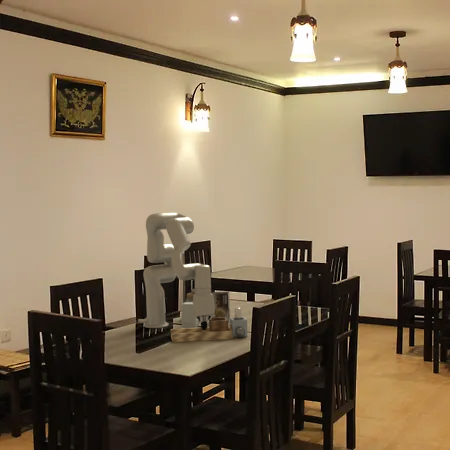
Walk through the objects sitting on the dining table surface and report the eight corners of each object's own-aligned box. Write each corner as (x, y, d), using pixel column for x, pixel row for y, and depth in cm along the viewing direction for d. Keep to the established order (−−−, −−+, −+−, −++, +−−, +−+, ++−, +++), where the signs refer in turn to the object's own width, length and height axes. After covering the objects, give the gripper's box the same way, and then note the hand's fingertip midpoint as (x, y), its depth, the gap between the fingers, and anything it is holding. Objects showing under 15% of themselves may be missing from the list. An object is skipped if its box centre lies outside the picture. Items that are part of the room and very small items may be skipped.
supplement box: (195, 329, 350) (194, 304, 350) (181, 328, 352) (180, 304, 351) (199, 326, 358) (198, 301, 357) (185, 326, 359) (184, 301, 359)
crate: (211, 336, 324) (210, 321, 324) (209, 332, 334) (208, 317, 333) (228, 335, 325) (227, 320, 325) (225, 331, 335) (225, 317, 334)
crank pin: (235, 325, 329) (235, 308, 328) (234, 324, 332) (234, 307, 332) (242, 325, 329) (242, 308, 329) (241, 324, 332) (240, 307, 332)
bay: (172, 342, 320) (171, 330, 320) (170, 336, 333) (170, 325, 333) (232, 338, 324) (232, 327, 323) (228, 333, 337) (228, 322, 336)
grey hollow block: (233, 338, 324) (233, 321, 323) (230, 334, 334) (230, 317, 333) (248, 337, 325) (247, 320, 324) (245, 333, 335) (244, 317, 334)
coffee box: (230, 321, 369) (229, 291, 368) (229, 323, 362) (228, 292, 362) (213, 321, 369) (212, 291, 369) (212, 324, 363) (211, 293, 362)
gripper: (187, 293, 323) (188, 332, 324) (219, 291, 325) (220, 330, 326) (186, 290, 330) (187, 329, 331) (217, 289, 332) (219, 327, 333)
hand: (204, 329), depth 328 cm, fingers closed
